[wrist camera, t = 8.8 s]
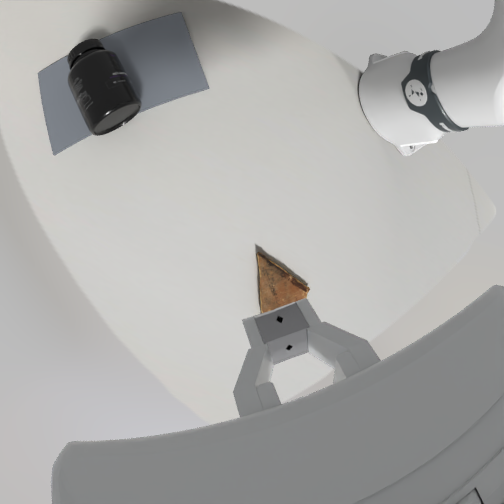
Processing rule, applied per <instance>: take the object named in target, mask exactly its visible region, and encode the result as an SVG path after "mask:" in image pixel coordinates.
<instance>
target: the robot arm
mask: <svg viewBox="0 0 504 504" xmlns="http://www.w3.org/2000/svg"><path fill="white" fill-rule="evenodd" d="M359 97H360V102H361V105H362V109H363V111H364V114H365V116H366V118H367V119H368V121H369V123H370V124H371V126H372V127H373V128H374V130H375V131H376V132H377V133H378V134H379V135H380V136H381V137H383V138H384V139H385V140H387V141H389V142H391V143H392V144H394V145H395V146H396V148H397V149H398V150H399V152H400V153H401V154H402V155H403V156H410V155H411V154H413V153H414V152H416V151H417V150H419V149H420V148H422V147H423V146H425V145H426V144H428V143H436V142H437V141H438V139H440V138H441V137H443V135H445V134H446V133H447V132H460V131H464V130H467V129H468V128H469V127H486V126H487V127H488V126H504V0H495V6H494V12H493V15H492V18H491V21H490V23H489V24H488V26H487V27H486V29H485V30H484V31H483V32H482V33H481V34H480V35H479V36H477V37H476V38H474V39H472V40H470V41H468V42H466V43H463V44H461V45H458V46H455V47H453V48H450V49H447V50H444V51H438V50H436V51H435V50H434V51H431V52H430V51H428V52H425V53H423V54H421V55H419V56H416V55H415V54H413V53H408V52H407V51H404V52H400V53H398V54H395V55H392V56H389V57H387V56H384V55H380V54H373V55H371V56H370V57H369V64H368V68H367V69H366V70H365V72H364V73H363V75H362V77H361V79H360V83H359ZM242 321H243V325H244V328H245V331H246V333H247V336H248V339H249V342H250V345H251V349H248V352H247V355H246V358H245V360H244V363H243V366H242V369H241V372H240V374H239V377H238V380H237V383H236V385H235V388H234V391H233V393H234V397H235V401H236V404H237V408H238V411H239V415H240V418H236V419H233V420H229V421H225V422H221V423H217V424H213V425H209V426H205V427H200V428H195V429H190V430H185V431H180V432H174V433H168V434H163V435H155V436H149V437H140V438H131V439H120V440H106V441H74V442H69V443H68V444H67V445H66V446H65V447H64V449H63V450H62V451H61V453H60V454H59V456H58V457H57V459H56V461H55V462H54V465H53V469H52V478H51V482H52V483H51V488H52V504H504V287H503V286H499V285H494V286H492V287H491V288H489V289H488V290H487V291H486V292H485V293H483V294H482V295H481V296H480V297H478V298H477V299H476V300H475V301H473V302H472V303H471V304H470V305H468V306H467V307H465V308H464V309H463V310H461V311H460V312H459V313H457V314H456V315H455V316H453V317H452V318H450V319H449V320H447V321H446V322H445V323H443V324H442V325H440V326H439V327H437V328H436V329H434V330H433V331H431V332H430V333H428V334H426V335H425V336H423V337H422V338H420V339H418V340H417V341H415V342H414V343H412V344H410V345H409V346H407V347H405V348H403V349H402V350H400V351H398V352H397V353H395V354H393V355H391V356H389V357H387V358H386V359H384V360H382V361H381V360H380V359H379V357H378V356H377V354H376V353H375V351H374V350H373V348H372V347H371V346H370V344H369V343H368V341H367V340H365V339H362V338H360V337H358V336H355V335H353V334H351V333H349V332H346V331H344V330H342V329H340V328H338V327H335V326H333V325H331V324H329V323H327V322H321V321H320V319H319V318H318V316H317V314H316V313H315V311H314V309H313V308H312V306H311V305H310V303H309V301H308V300H307V299H306V298H304V299H301V300H299V301H296V302H293V303H290V304H287V305H285V306H282V307H279V308H276V309H274V310H271V311H268V312H265V313H262V314H259V315H255V316H253V317H249V318H246V319H243V320H242ZM307 352H309V354H311V355H313V356H314V357H316V358H317V359H319V360H321V361H322V362H324V363H325V364H327V365H329V366H330V367H332V368H334V369H335V371H334V380H333V384H332V385H330V386H328V387H325V388H323V389H321V390H318V391H316V392H313V393H311V394H308V395H306V396H303V397H300V398H298V399H295V400H292V401H290V402H287V403H284V404H281V402H280V400H279V397H278V395H277V392H276V390H275V387H274V385H273V383H271V382H270V380H271V376H272V372H273V368H274V365H275V364H277V363H280V362H283V361H285V360H288V359H290V358H293V357H296V356H299V355H302V354H305V353H307Z"/></svg>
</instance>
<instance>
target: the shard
mask: <svg viewBox="0 0 504 504" xmlns="http://www.w3.org/2000/svg"><path fill="white" fill-rule="evenodd" d="M257 258H258V266H259V273H260V284H259V287H260V301H261V307H260V308H261V312H262V313H265V312H268V311H271V310H274V309H276V308H279V307H282V306H285V305H287V304H290V303H293V302H296V301H299V300H301V299H304V298H307V293H308V292H309V290H310V288H309V287H307V286H305V285H304V284H303V283H301V282H300V281H299V280H297V279H296V278H294V277H293V276H292V275H290V274H289V273H288V272H287V271H285V270H284V269H282V268H281V267H280V266H278V265H277V264H275V263H274V262H272V261H271V260H269V259H267V258H266V257H265V256H264V255H263V254H261V253H260V252H258V254H257Z"/></svg>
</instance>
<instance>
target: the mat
mask: <svg viewBox="0 0 504 504" xmlns="http://www.w3.org/2000/svg"><path fill="white" fill-rule="evenodd" d="M100 41H101V43H102V45H103V46H104V48H105V50H110V51H112V52H114V53H115V54H116V55H117V56H118V58H119V60H120V62H121V64H122V66H123V67H124V69H125V71H126V73H127V75H128V77H129V79H130V81H131V83H132V84H133V86H134V88H135V90H136V92H137V94H138V96H139V98H140V100H141V102H142V106H141V109H140V111H139V112H138V113H140V112H143V111H145V110H148V109H150V108H153V107H155V106H158V105H161V104H164V103H166V102H169V101H172V100H175V99H178V98H181V97H184V96H187V95H190V94H193V93H196V92H200V91H203V90H207V89H209V86H208V83H207V80H206V78H205V75H204V72H203V70H202V67H201V64H200V61H199V59H198V56H197V53H196V51H195V48H194V45H193V43H192V40H191V37H190V35H189V32H188V29H187V27H186V24H185V21H184V19H183V16H182V13H181V12H179V13H175V14H171V15H167V16H164V17H160V18H157V19H153V20H150V21H147V22H144V23H141V24H138V25H135V26H132V27H130V28H127V29H124V30H122V31H119V32H117V33H114V34H112V35H109V36H107V37H105V38H102V39H100ZM67 58H68V56H66V57H64V58H62V59H60V60H59V61H57V62H55V63H54V64H52V65H50V66H49V67H47V68H45V69H44V70H42V71H41V72H39V73H38V78H39V86H40V93H41V99H42V105H43V111H44V116H45V121H46V126H47V130H48V135H49V139H50V143H51V147H52V151H53V155H56V154H58V153H59V152H61V151H63V150H65V149H66V148H68V147H70V146H72V145H73V144H75V143H77V142H79V141H81V140H83V139H84V138H86V137H88V136H90V135H92V134H91V133H90V131H89V129H88V127H87V125H86V123H85V121H84V119H83V117H82V115H81V113H80V110H79V108H78V106H77V104H76V102H75V99H74V97H73V95H72V92H71V90H70V88H69V85H68V75H69V72H70V68H69V64H68V60H67ZM138 113H137V114H138Z"/></svg>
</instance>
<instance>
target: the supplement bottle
mask: <svg viewBox="0 0 504 504" xmlns="http://www.w3.org/2000/svg"><path fill="white" fill-rule="evenodd" d="M67 60H68V64H69V68H70V72H69V75H68V85H69V88H70V90H71V92H72V95H73V97H74V99H75V102H76V104H77V106H78V108H79V110H80V113H81V115H82V117H83V119H84V121H85V123H86V125H87V127H88V129H89V131H90V133H91V134H93V135H97V136H98V135H104V134H107V133H109V132H111V131H114V130H115V129H117V128H119V127H121V126H122V125H124V124H125V123H127V122H128V121H130V120H131V119H132V118H133V117H134V116H135V115H136V114H137V113H138V112H139V111H140V109H141V106H142V102H141V100H140V98H139V96H138V94H137V92H136V90H135V88H134V86H133V84H132V83H131V81H130V79H129V77H128V75H127V73H126V71H125V69H124V67H123V66H122V64H121V62H120V60H119V58H118V56H117V55H116V54H115V53H114V52H112V51H110V50H105V48H104V46H103V45H102V43H101V41H100V40H98V39H89V40H85V41H84V42H81V43H80V44H78V45H77V46H75V47H74V48H73V49H72V50H71V51H70V53H69V55H68V58H67Z"/></svg>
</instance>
